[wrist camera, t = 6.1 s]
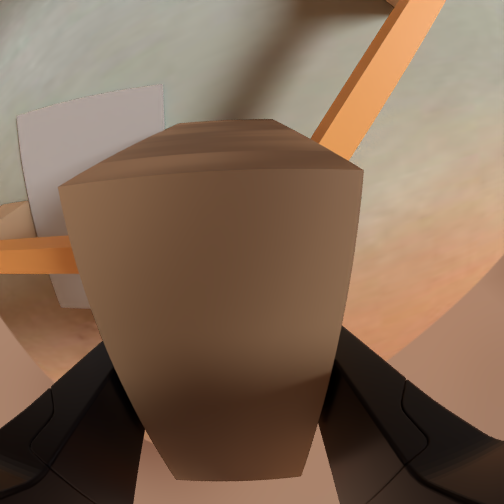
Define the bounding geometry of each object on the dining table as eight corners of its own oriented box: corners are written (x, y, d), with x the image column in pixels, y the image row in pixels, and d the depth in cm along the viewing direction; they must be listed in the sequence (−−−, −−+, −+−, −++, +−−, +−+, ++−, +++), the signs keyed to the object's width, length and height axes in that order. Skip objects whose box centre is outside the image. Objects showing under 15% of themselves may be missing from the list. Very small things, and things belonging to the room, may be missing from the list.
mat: (163, 84, 13) (161, 84, 13) (184, 307, 19) (183, 309, 19) (19, 115, 13) (16, 115, 12) (62, 305, 19) (60, 307, 18)
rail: (-4, 222, 16) (-54, 263, 11) (300, -111, 7) (322, -161, 2) (139, 338, 20) (120, 402, 15) (457, 42, 12) (523, 39, 7)
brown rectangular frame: (272, 119, 13) (363, 170, 4) (271, 298, 17) (301, 476, 8) (178, 123, 12) (58, 186, 4) (196, 301, 17) (176, 479, 8)
